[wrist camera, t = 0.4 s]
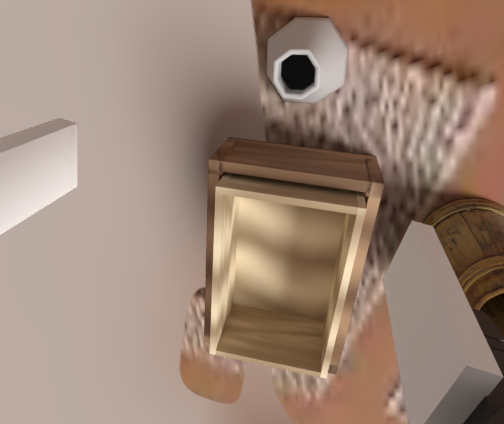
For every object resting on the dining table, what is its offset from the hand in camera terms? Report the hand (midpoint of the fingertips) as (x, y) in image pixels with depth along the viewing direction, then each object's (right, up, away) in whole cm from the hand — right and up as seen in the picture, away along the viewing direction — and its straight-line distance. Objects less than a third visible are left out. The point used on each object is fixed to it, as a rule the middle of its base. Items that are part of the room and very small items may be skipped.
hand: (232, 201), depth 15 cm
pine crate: (+5, -4, +26) cm, 27 cm away
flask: (+6, +13, +19) cm, 23 cm away
